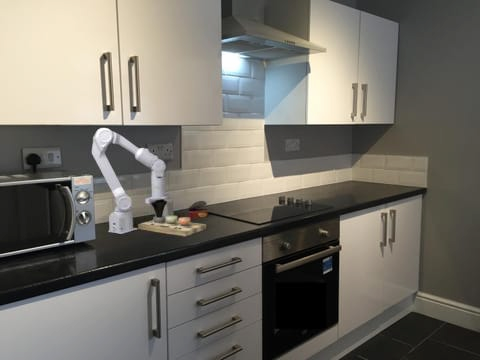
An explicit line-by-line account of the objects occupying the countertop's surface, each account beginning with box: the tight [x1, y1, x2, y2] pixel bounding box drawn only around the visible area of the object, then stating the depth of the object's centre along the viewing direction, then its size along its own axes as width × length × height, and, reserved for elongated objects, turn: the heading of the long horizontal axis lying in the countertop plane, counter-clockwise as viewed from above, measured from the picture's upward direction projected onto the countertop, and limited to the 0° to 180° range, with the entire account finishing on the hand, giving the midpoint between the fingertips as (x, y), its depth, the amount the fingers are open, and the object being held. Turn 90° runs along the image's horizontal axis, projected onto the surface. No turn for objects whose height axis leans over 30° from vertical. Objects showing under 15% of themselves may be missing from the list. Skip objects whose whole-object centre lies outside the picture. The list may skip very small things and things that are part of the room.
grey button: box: [152, 216, 165, 223], centre depth 186 cm, size 5×5×2 cm
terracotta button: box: [178, 216, 192, 224], centre depth 178 cm, size 5×5×2 cm
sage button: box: [166, 214, 179, 223], centre depth 182 cm, size 5×5×2 cm
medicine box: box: [154, 199, 174, 219], centre depth 205 cm, size 8×4×9 cm, turn 59°
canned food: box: [187, 200, 209, 219], centre depth 208 cm, size 11×10×10 cm
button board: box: [137, 219, 207, 237], centre depth 182 cm, size 14×26×2 cm, turn 59°
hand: (159, 217), depth 186 cm, fingers closed, pressing on grey button
